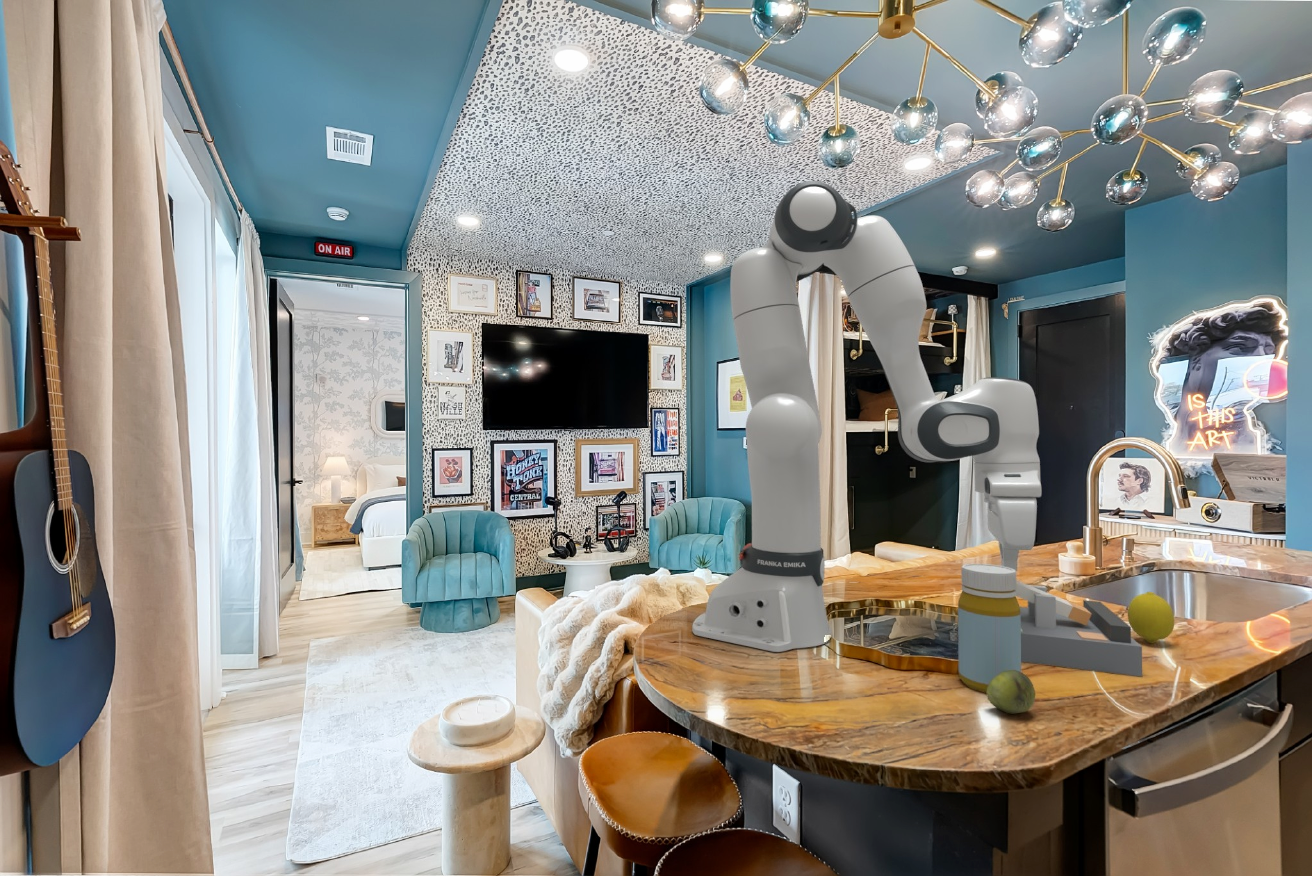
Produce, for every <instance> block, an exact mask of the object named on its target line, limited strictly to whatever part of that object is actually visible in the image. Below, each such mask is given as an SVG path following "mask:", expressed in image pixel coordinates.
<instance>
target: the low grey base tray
mask: <svg viewBox="0 0 1312 876" xmlns="http://www.w3.org/2000/svg"><path fill="white" fill-rule="evenodd" d="M1028 585H1029V586H1032V587H1034V588H1037V589H1039V590H1042V591H1044V592H1047V593H1048V588H1047V587H1046V586H1043V585H1030V584H1028ZM1055 596H1056V595H1055V594H1052V595H1042V594H1035V604H1034V603H1031V602H1029V601H1027V606H1026V607H1025V606H1020V613H1021V663H1028V662H1029V664H1038V665H1044V664H1046V665H1047V666H1052V665H1055V667H1060V668H1061V667H1062V668H1068V667H1069V668H1070V669H1075V670H1076V669H1077V670H1085V671H1094V672H1101V673H1109V674H1116V675H1118V674H1119V675H1123V676H1124V675H1126V676H1133V677H1143V646H1142V645H1141V644H1140V643H1139V642H1137V641H1136V640H1135V639H1134V638H1133V637H1132V628H1131V626H1130V624H1129V623H1126V622H1125V621H1124V620H1123V619H1122V618H1120V616H1118V615H1117V614H1116V613H1115V612H1113V611H1112V610H1111V609H1110V608H1108V606H1106V605H1105V604H1104V603H1102V602H1101V601H1094V600H1085V599H1083V601H1082V602H1083V606H1082V607H1085V608H1086V609H1087V610H1088V611H1089V612H1090V613H1091V614H1092V615H1091V617H1090V619H1089V621H1088V623H1087V625H1083V624H1081V623H1079V622H1076V621H1074V620H1071V619H1069V618H1067V617H1065V616H1063V615H1060V614H1058V613H1056V597H1055ZM1069 668H1068V669H1069Z"/></svg>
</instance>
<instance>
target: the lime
mask: <svg viewBox="0 0 1312 876" xmlns="http://www.w3.org/2000/svg"><path fill="white" fill-rule="evenodd" d="M985 694H986V696H987V700H988V701H989V703H990V704H992V706H993V707H995V708H997V709H999V710H1000V711H1002V712H1005V713H1007V714H1013V715H1014V714H1018V713H1019V714H1020V713H1026V712H1027V711H1029V710H1030V709H1031V708H1032V707H1033V705H1034V702H1035V699H1036V690H1035V688H1034V684H1033V682H1032V681H1031V678H1030V677H1029V676H1027V674H1025V673H1023V672H1022V671H1021V672H1020V671H1017V670H1008V671H1003V672H1001V673H1000V674H998V675H997V676H995V677H994V678H993V679H992V680H991V681H990V683H989V685H988V687H987V690H986V693H985Z"/></svg>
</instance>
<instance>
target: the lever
mask: <svg viewBox="0 0 1312 876" xmlns="http://www.w3.org/2000/svg"><path fill="white" fill-rule="evenodd" d="M1029 585H1030V584H1026V583H1024V582H1022V581H1020V580H1017V579H1016V598H1020V599H1022V600H1025V601H1027V602H1028V601H1029V602H1031V603H1034V604H1035V594H1042V595H1053V594H1052V593H1049V592H1048V591H1047V592H1044V591H1042V590H1039V589H1037V588H1034V587H1032V586H1029ZM1054 596H1055V597H1056V613H1058V614H1060V615H1063V616H1065V617H1067V618H1069V619H1071V620H1074V621H1076V622H1079V623H1081V624H1083V625H1087V623H1088V621H1089V619H1090V617H1091V615H1092V614H1091V613H1090V612H1089V611H1088V610H1087V609H1086V608H1085V607H1083V606H1082V605H1080V604H1077V603H1074V602H1072V601H1069V600H1067V599H1064V598H1061V597H1059V596H1057V595H1054Z"/></svg>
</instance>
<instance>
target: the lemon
mask: <svg viewBox="0 0 1312 876" xmlns="http://www.w3.org/2000/svg"><path fill="white" fill-rule="evenodd" d="M1173 612H1174V611H1173V610H1172V607H1171V606H1170V604H1169V602H1167V601H1166V600H1165V599H1164V598H1163V597H1162V596H1159V595H1157V594H1155V593H1154V592H1152V591H1147V592H1145V593H1141V594H1138V595H1136V596H1135V597H1133V598H1132V599H1131V601H1130V602H1129V605H1128V610H1127V621H1128V625H1129V626H1130V627H1131V630H1132V631H1134V633H1135V634H1136V635H1138V636H1139V637H1141V638H1143V639H1144V640H1146V642H1147V643H1149V644H1154V643H1155V642H1157V641H1160V640H1161V641H1162V640H1164V639H1167V638H1168V637H1169V636H1170V635H1171V634H1172V632H1173V630H1174V628H1175V616H1174V613H1173Z"/></svg>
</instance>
